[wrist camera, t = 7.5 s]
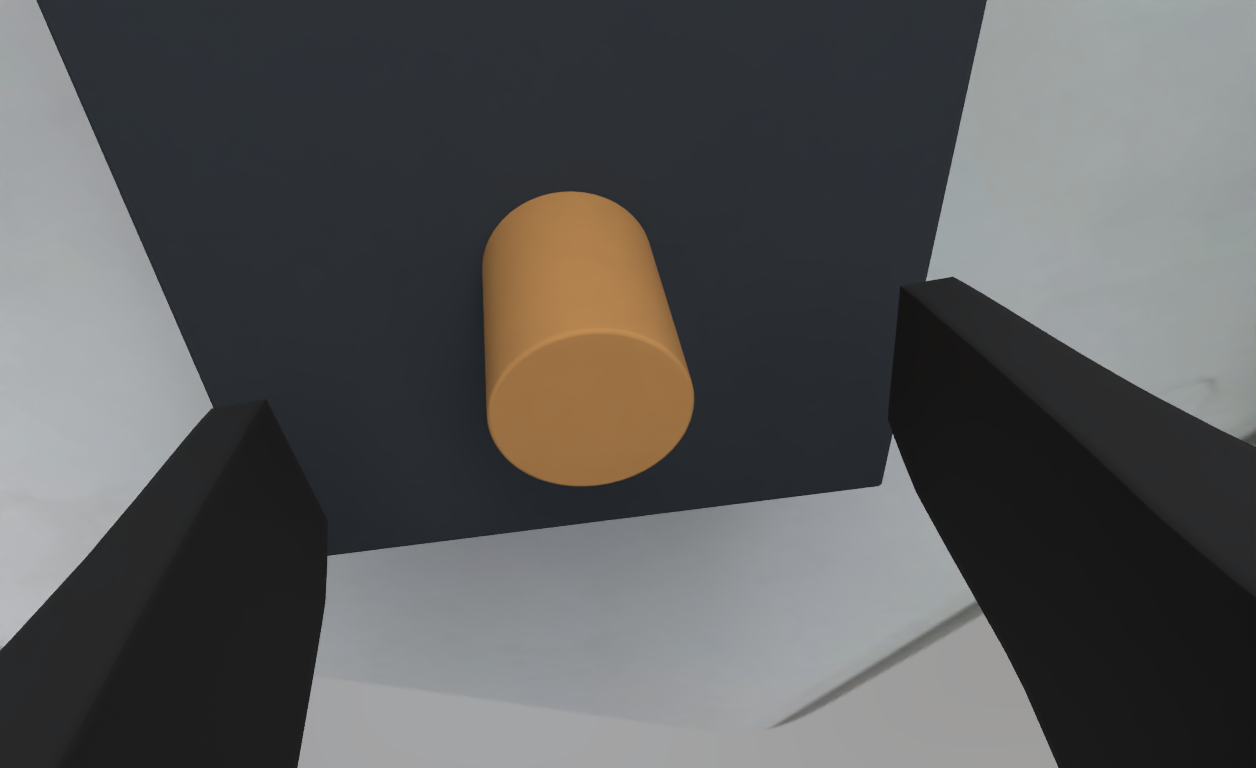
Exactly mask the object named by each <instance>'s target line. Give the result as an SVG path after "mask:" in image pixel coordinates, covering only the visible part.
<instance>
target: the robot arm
mask: <svg viewBox="0 0 1256 768" xmlns="http://www.w3.org/2000/svg"><path fill="white" fill-rule="evenodd" d="M887 419H888V422H889V424H890V427H891V430H892V432H893V435H894V438H895V440H896V443H897V445H898V448H899V451H900V453H901V456H902V459H903V461H904V464H905V466H906V468H907V471H908V473H909V476H910V478H911V481H912V483H913V486H914V488H915V490H916V493H917V494H918V496H919V498H920V500H921V502H922V504H923V506H924V507H925V509H926V511H927V513H928V515H929V517H930V518H931V520H932V522H933V524H934V526H935V527H936V529H937V531H938V533H939V535H940V536H941V538H942V540H943V542H944V544H945V546H946V547H947V549H948V551H949V553H950V554H951V556H952V558H953V560H954V562H955V563H956V565H957V567H958V569H959V570H960V572H961V574H962V576H963V577H964V579H965V581H966V583H967V585H968V586H969V588H970V590H971V592H972V593H973V595H974V597H975V599H976V601H977V602H978V604H979V606H980V608H981V609H982V611H983V613H984V615H985V616H986V618H987V620H988V622H989V624H990V625H991V627H992V629H993V631H994V632H995V634H996V636H997V638H998V640H999V641H1000V643H1001V645H1002V647H1003V648H1004V650H1005V652H1006V654H1007V656H1008V658H1009V660H1010V662H1011V664H1012V666H1013V668H1014V670H1015V672H1016V674H1017V675H1018V677H1019V679H1020V681H1021V683H1022V685H1023V687H1024V689H1025V692H1026V694H1027V696H1028V698H1029V701H1030V703H1031V705H1032V707H1033V710H1034V712H1035V714H1036V717H1037V719H1038V721H1039V723H1040V726H1041V728H1042V730H1043V733H1044V735H1045V737H1046V740H1047V742H1048V744H1049V747H1050V749H1051V751H1052V753H1053V756H1054V758H1055V760H1056V763H1057V765H1058V767H1059V768H1256V447H1254V446H1252V445H1250V444H1248V443H1246V442H1244V441H1242V440H1240V439H1238V438H1236V437H1234V436H1231V435H1229V434H1227V433H1225V432H1223V431H1221V430H1219V429H1217V428H1215V427H1213V426H1211V425H1209V424H1207V423H1205V422H1204V421H1202V420H1200V419H1198V418H1196V417H1194V416H1192V415H1190V414H1188V413H1186V412H1184V411H1182V410H1181V409H1179V408H1177V407H1175V406H1173V405H1171V404H1169V403H1167V402H1165V401H1163V400H1161V399H1159V398H1158V397H1156V396H1154V395H1152V394H1150V393H1148V392H1147V391H1145V390H1143V389H1141V388H1139V387H1138V386H1136V385H1134V384H1132V383H1130V382H1129V381H1127V380H1125V379H1123V378H1122V377H1120V376H1118V375H1116V374H1115V373H1113V372H1111V371H1109V370H1108V369H1106V368H1104V367H1102V366H1101V365H1099V364H1097V363H1096V362H1094V361H1092V360H1091V359H1089V358H1087V357H1085V356H1084V355H1082V354H1080V353H1079V352H1077V351H1075V350H1074V349H1072V348H1070V347H1069V346H1067V345H1065V344H1064V343H1062V342H1060V341H1059V340H1057V339H1055V338H1054V337H1052V336H1051V335H1049V334H1047V333H1046V332H1044V331H1042V330H1041V329H1039V328H1038V327H1036V326H1034V325H1033V324H1031V323H1029V322H1028V321H1026V320H1025V319H1023V318H1021V317H1020V316H1018V315H1016V314H1015V313H1013V312H1012V311H1010V310H1008V309H1007V308H1005V307H1003V306H1002V305H1000V304H999V303H997V302H995V301H994V300H992V299H990V298H989V297H987V296H986V295H984V294H982V293H981V292H979V291H977V290H975V289H974V288H972V287H970V286H969V285H967V284H965V283H963V282H961V281H960V280H958V279H956V278H954V277H949V278H943V279H938V280H932V281H927V282H921V283H915V284H910V285H904V286H900V295H899V305H898V315H897V325H896V336H895V346H894V356H893V366H892V377H891V387H890V397H889V407H888V418H887ZM327 539H328V520H327V518H326V516H325V514H324V512H323V510H322V508H321V506H320V504H319V502H318V500H317V498H316V497H315V495H314V493H313V491H312V489H311V487H310V485H309V483H308V481H307V479H306V477H305V475H304V473H303V471H302V469H301V467H300V465H299V463H298V461H297V459H296V457H295V455H294V453H293V451H292V449H291V447H290V445H289V443H288V441H287V439H286V437H285V435H284V433H283V431H282V429H281V427H280V425H279V423H278V421H277V419H276V418H275V416H274V414H273V412H272V410H271V408H270V406H269V404H268V402H267V400H266V399H264V400H258V401H252V402H247V403H241V404H235V405H230V406H224V407H219V408H213V409H211V410H210V411H209V412H208V413H207V414H206V415H205V416H204V418H203V419H202V420H201V421H200V422H199V423H198V424H197V425H196V427H195V428H194V429H193V430H192V431H191V432H190V434H189V435H188V436H187V437H186V438H185V439H184V441H183V442H182V443H181V444H180V445H179V447H178V448H177V449H176V450H175V451H174V453H173V454H172V455H171V456H170V458H169V459H168V460H167V461H166V462H165V464H164V465H163V466H162V467H161V469H160V470H159V471H158V472H157V473H156V475H155V476H154V477H153V478H152V479H151V481H150V482H149V483H148V484H147V486H146V487H145V488H144V489H143V490H142V492H141V493H140V494H139V495H138V496H137V498H136V499H135V500H134V501H133V502H132V504H131V505H130V506H129V507H128V508H127V509H126V511H125V512H124V513H123V514H122V515H121V517H120V518H119V519H118V520H117V521H116V523H115V524H114V525H113V526H112V527H111V528H110V530H109V531H108V532H107V533H106V534H105V536H104V537H103V538H102V539H101V540H100V542H99V543H98V544H97V545H96V546H95V548H94V549H93V550H92V551H91V552H90V553H89V555H88V556H87V557H86V558H85V559H84V560H83V561H82V562H81V564H80V565H79V566H78V567H77V568H76V569H75V570H74V571H73V572H72V573H71V574H70V576H69V577H68V578H67V579H66V580H65V581H64V582H63V583H62V584H61V585H60V586H59V588H58V589H57V590H56V591H55V592H54V593H53V594H52V595H51V596H50V597H49V599H48V600H47V601H46V602H45V603H44V604H43V605H42V606H41V607H40V608H39V609H38V611H37V612H36V613H35V614H34V615H33V616H32V617H31V618H30V619H29V620H28V621H27V623H26V624H25V625H24V626H23V627H22V628H21V629H20V630H19V631H18V632H17V634H16V635H15V636H14V637H13V638H12V639H11V640H10V641H9V642H8V643H7V644H6V645H5V646H4V647H3V648H2V649H1V650H0V768H297V766H298V760H299V755H300V749H301V743H302V738H303V731H304V726H305V720H306V714H307V709H308V703H309V697H310V692H311V686H312V680H313V674H314V669H315V663H316V657H317V651H318V645H319V639H320V633H321V626H322V620H323V614H324V607H325V599H326V577H327Z"/></svg>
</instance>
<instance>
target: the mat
mask: <svg viewBox="0 0 1256 768" xmlns="http://www.w3.org/2000/svg"><path fill="white" fill-rule="evenodd" d="M986 1H987V0H37V3H38V5H39V7H40V9H41V12H42V14H43V16H44V19H45V21H46V23H47V26H48V28H49V30H50V32H51V35H52V37H53V39H54V42H55V44H56V46H57V49H58V51H59V53H60V55H61V58H62V60H63V62H64V65H65V67H66V69H67V72H68V74H69V76H70V78H71V81H72V83H73V85H74V88H75V90H76V92H77V95H78V97H79V99H80V102H81V104H82V106H83V108H84V111H85V113H86V115H87V118H88V120H89V122H90V125H91V127H92V129H93V131H94V134H95V136H96V138H97V141H98V143H99V145H100V148H101V150H102V152H103V154H104V157H105V159H106V161H107V164H108V166H109V168H110V171H111V173H112V175H113V177H114V180H115V182H116V184H117V187H118V189H119V191H120V194H121V196H122V198H123V200H124V203H125V205H126V207H127V210H128V212H129V214H130V217H131V219H132V221H133V223H134V226H135V228H136V230H137V233H138V235H139V237H140V240H141V242H142V244H143V247H144V249H145V251H146V253H147V256H148V258H149V260H150V263H151V265H152V267H153V270H154V272H155V274H156V276H157V279H158V281H159V283H160V286H161V288H162V290H163V293H164V295H165V297H166V299H167V302H168V304H169V306H170V309H171V311H172V313H173V316H174V318H175V320H176V322H177V325H178V327H179V329H180V332H181V334H182V336H183V339H184V341H185V343H186V345H187V348H188V350H189V352H190V355H191V357H192V359H193V362H194V364H195V366H196V368H197V371H198V373H199V375H200V378H201V380H202V382H203V385H204V387H205V389H206V392H207V394H208V396H209V398H210V401H211V403H212V405H213V408H219V407H224V406H230V405H235V404H241V403H247V402H252V401H258V400H264V399H266V400H267V402H268V404H269V406H270V408H271V410H272V412H273V414H274V416H275V418H276V419H277V421H278V423H279V425H280V427H281V429H282V431H283V433H284V435H285V437H286V439H287V441H288V443H289V445H290V447H291V449H292V451H293V453H294V455H295V457H296V459H297V461H298V463H299V465H300V467H301V469H302V471H303V473H304V475H305V477H306V479H307V481H308V483H309V485H310V487H311V489H312V491H313V493H314V495H315V497H316V498H317V500H318V502H319V504H320V506H321V508H322V510H323V512H324V514H325V516H326V518H327V520H328V539H327V556H329V555H337V554H345V553H353V552H361V551H369V550H376V549H384V548H392V547H400V546H408V545H416V544H424V543H432V542H440V541H447V540H455V539H463V538H471V537H479V536H487V535H495V534H503V533H511V532H519V531H526V530H534V529H542V528H550V527H558V526H566V525H574V524H582V523H590V522H598V521H605V520H613V519H621V518H629V517H637V516H645V515H653V514H661V513H669V512H677V511H684V510H692V509H700V508H708V507H716V506H724V505H732V504H740V503H748V502H755V501H763V500H771V499H779V498H787V497H795V496H803V495H811V494H819V493H827V492H834V491H842V490H850V489H858V488H866V487H874V486H879V485H881V483H882V479H883V475H884V470H885V466H886V461H887V456H888V452H889V447H890V443H891V438H892V433H893V432H892V430H891V427H890V424H889V422H888V419H887V418H888V407H889V397H890V387H891V377H892V366H893V356H894V346H895V336H896V325H897V315H898V305H899V295H900V286H904V285H910V284H915V283H921V282H926V277H927V273H928V268H929V263H930V259H931V254H932V250H933V245H934V240H935V236H936V231H937V227H938V222H939V217H940V213H941V208H942V204H943V199H944V194H945V190H946V185H947V181H948V176H949V171H950V167H951V162H952V158H953V153H954V148H955V144H956V139H957V135H958V130H959V125H960V121H961V116H962V112H963V107H964V102H965V98H966V93H967V89H968V84H969V79H970V75H971V70H972V66H973V61H974V56H975V52H976V47H977V43H978V38H979V33H980V29H981V24H982V20H983V15H984V10H985V6H986Z"/></svg>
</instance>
